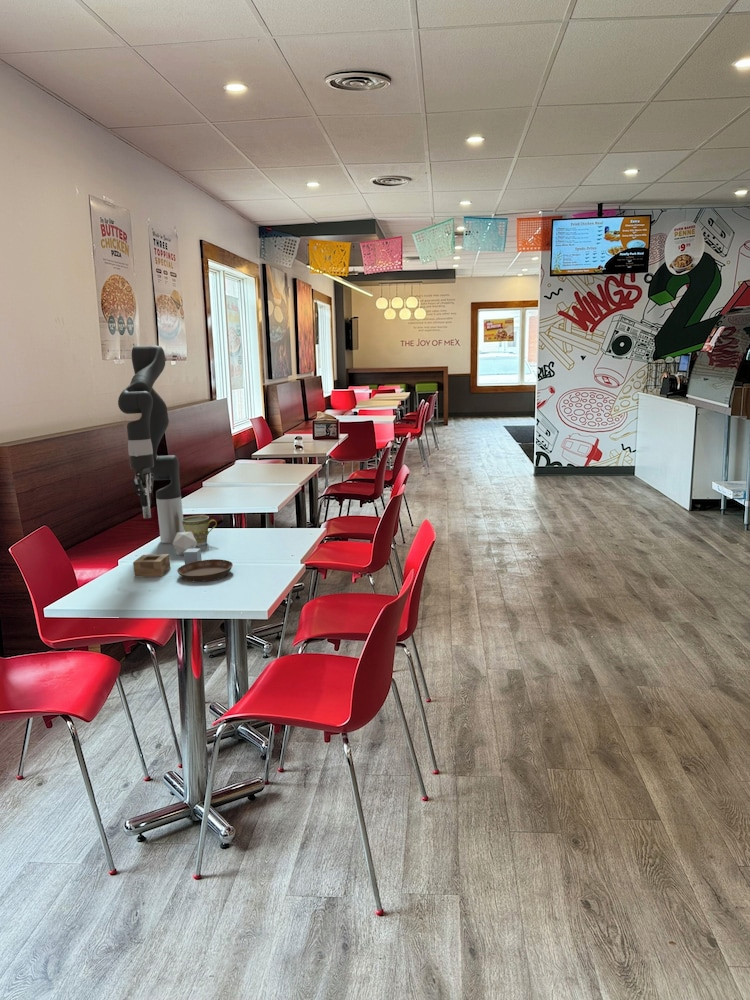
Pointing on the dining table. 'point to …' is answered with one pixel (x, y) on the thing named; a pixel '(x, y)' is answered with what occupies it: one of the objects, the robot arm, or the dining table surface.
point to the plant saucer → (205, 570)
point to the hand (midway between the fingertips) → (146, 505)
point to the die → (184, 542)
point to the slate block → (192, 555)
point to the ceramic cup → (198, 527)
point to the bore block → (151, 565)
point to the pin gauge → (147, 509)
